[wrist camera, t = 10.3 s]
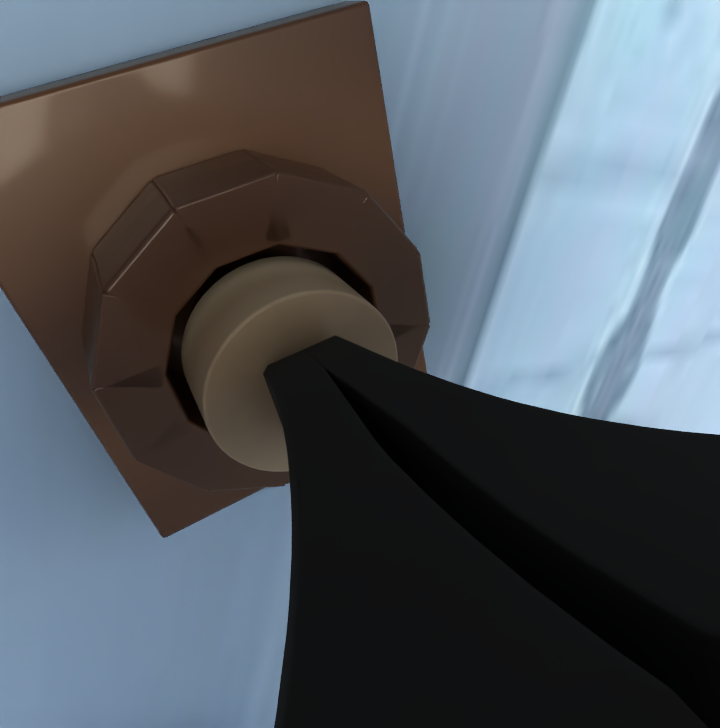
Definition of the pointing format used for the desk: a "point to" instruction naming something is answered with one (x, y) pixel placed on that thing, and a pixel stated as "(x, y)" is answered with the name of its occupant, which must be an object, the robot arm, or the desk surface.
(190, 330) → the button
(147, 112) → the control block
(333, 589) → the robot arm
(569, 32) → the desk surface
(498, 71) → the desk surface
